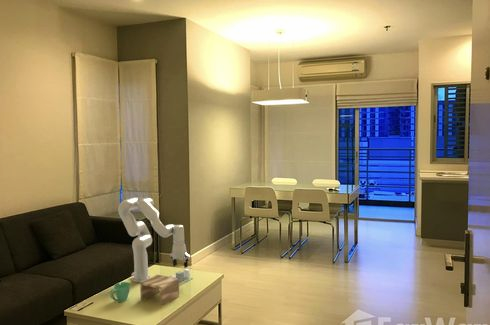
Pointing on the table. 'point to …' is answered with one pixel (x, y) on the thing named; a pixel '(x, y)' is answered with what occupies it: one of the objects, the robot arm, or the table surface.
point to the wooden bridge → (166, 286)
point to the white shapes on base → (183, 276)
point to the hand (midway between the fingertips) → (180, 266)
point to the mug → (120, 291)
